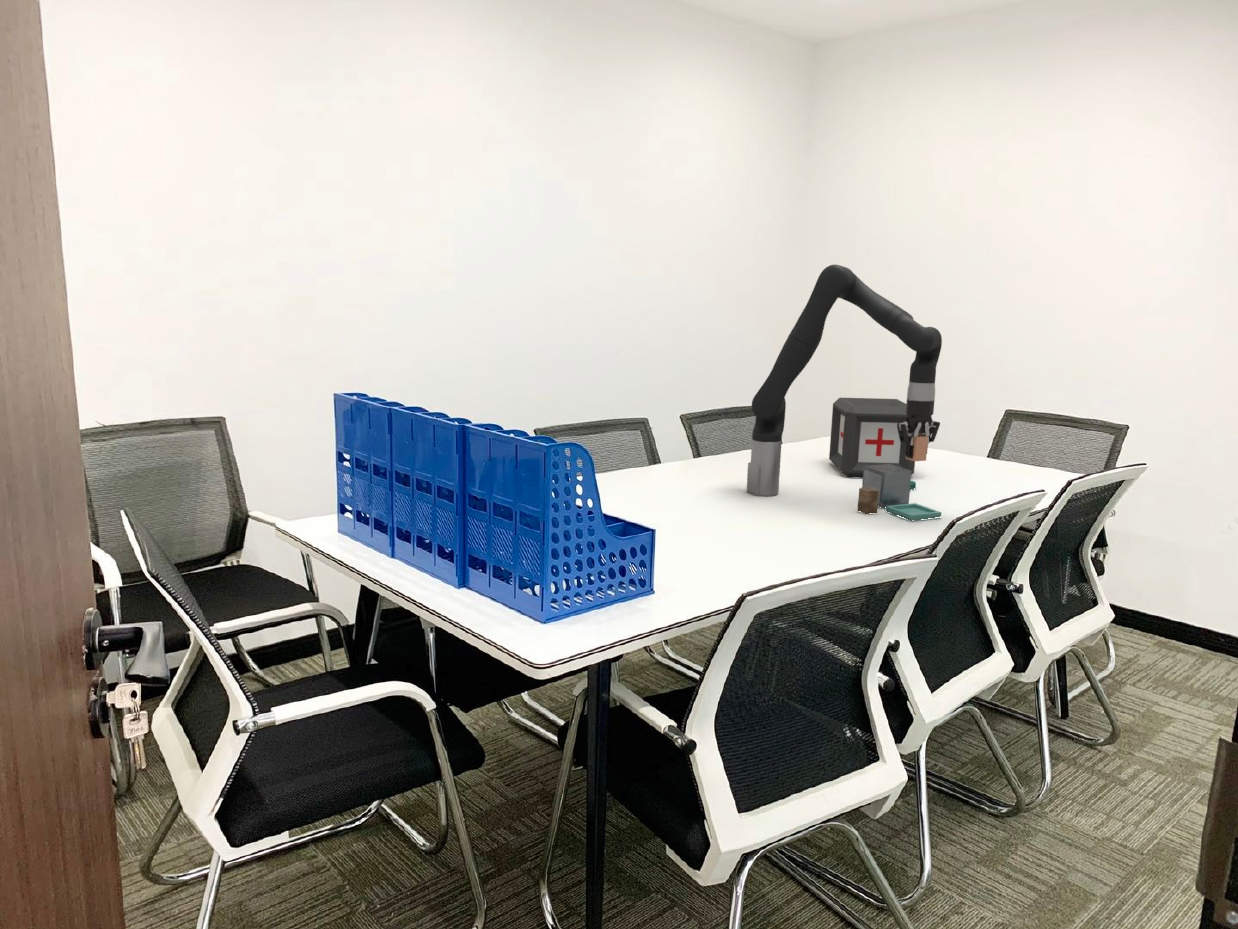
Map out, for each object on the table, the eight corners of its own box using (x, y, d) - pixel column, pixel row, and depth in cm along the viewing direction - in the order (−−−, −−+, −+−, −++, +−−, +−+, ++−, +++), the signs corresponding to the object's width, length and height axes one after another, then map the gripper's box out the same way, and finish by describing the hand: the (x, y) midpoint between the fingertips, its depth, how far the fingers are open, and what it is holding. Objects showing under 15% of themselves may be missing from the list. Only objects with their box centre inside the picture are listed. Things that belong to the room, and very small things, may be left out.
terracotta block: (914, 461, 258) (916, 437, 257) (905, 458, 262) (907, 434, 260) (926, 460, 260) (928, 436, 258) (916, 457, 263) (918, 434, 262)
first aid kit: (915, 480, 311) (922, 408, 306) (842, 478, 311) (847, 406, 306) (895, 465, 335) (901, 398, 330) (827, 463, 336) (832, 396, 330)
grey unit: (880, 508, 272) (883, 473, 270) (859, 500, 281) (862, 466, 279) (910, 505, 276) (913, 470, 274) (888, 498, 285) (891, 464, 283)
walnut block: (865, 514, 265) (867, 491, 264) (857, 511, 269) (859, 488, 267) (877, 513, 267) (879, 490, 265) (868, 510, 270) (870, 487, 269)
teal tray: (910, 521, 258) (911, 515, 258) (885, 511, 268) (886, 506, 268) (940, 518, 263) (941, 512, 262) (914, 508, 273) (915, 503, 272)
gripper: (931, 395, 263) (926, 453, 267) (891, 397, 258) (887, 456, 262) (949, 398, 256) (944, 458, 260) (909, 400, 251) (904, 461, 255)
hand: (915, 456), depth 261 cm, fingers closed on terracotta block, 4 cm apart
